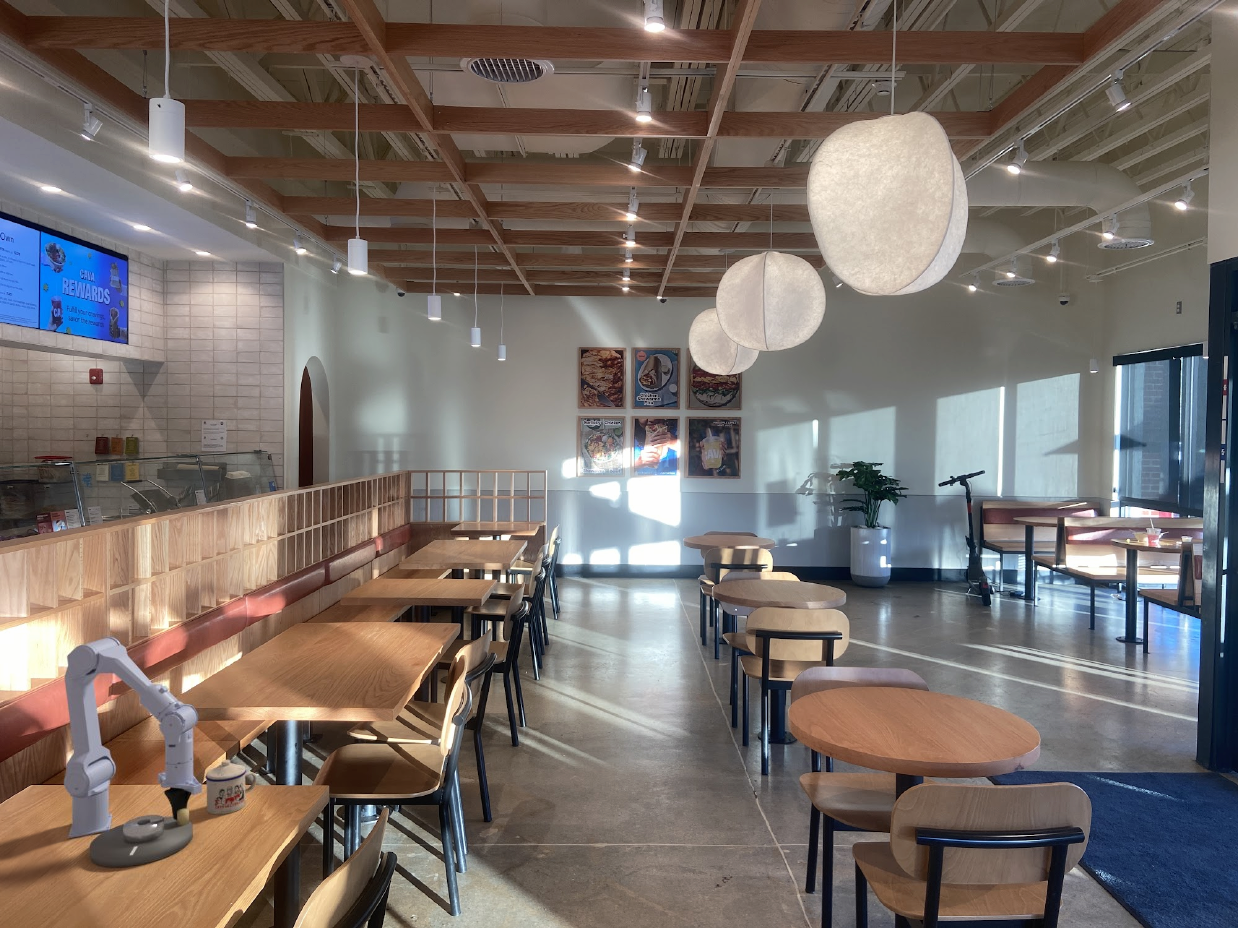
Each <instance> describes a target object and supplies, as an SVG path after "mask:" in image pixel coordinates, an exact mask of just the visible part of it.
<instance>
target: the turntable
mask: <svg viewBox="0 0 1238 928" xmlns="http://www.w3.org/2000/svg"><path fill="white" fill-rule="evenodd" d="M163 817H164V834H163V835H162V836H161V837H159V838H157V839H155V840H153V841H150V842H146V843H141V844H127V843H125V842H124V841H123V825H124V824H125V823H122V824H120V825H117V826H115V827H112V828H110V830H108V831H105V832H101V833H100V834H99V835H98V836H96V837H95V838H94V839H93V840H92V841H91V842H90V844H89V859H90V861H91V862H92V863H93V864H95V865H97V866H100V867H106V868H107V867H108V868H109V867H110V868H111V867H112V868H117V867H118V868H120V867H121V868H122V867H132V866H138V865H144V864H149V863H151V862H155V861H159V860H161V859H163V858H164V859H165V858H167V857H169V856H172V855H174V854H175V853H177V852H179V851H180V850H182V849H184V848H185V847H187V846H188V845H189V843H191V841H192V840H193V837H194V827H193V826H194V825H193V823H192V822H191V821H190V809H189V808H187V809H180V810H178V811H177V820H174V818H173V816H163Z"/></svg>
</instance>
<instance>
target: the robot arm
mask: <svg viewBox="0 0 1238 928" xmlns="http://www.w3.org/2000/svg"><path fill="white" fill-rule="evenodd" d="M66 659H67V667H66V670H65V673H64V674H65V675H64V683H65V684H64V685H65V692H66V693H65V694H66V701H67V710H68V716H69V725H70V731H71V733H70V734H71V739H72V747H73V753H72V755H71V756H70V758H69V760H68V761H67V763H66V765H65V768H66V769H65V770H66V771H65V776H64V779H63V785H64V788H65V790H66V792H67V793H68V794H69V796H70V797H71V806H72V807H71V813H72V815H71V817H72V820H71V821H72V823H71V826H70V830H69V834H68V838H69V839H71V838H77V837H83V836H89V835H94V834H98V833H100V834H101V833H104V832H105V831H108V830H110V829H111V825H112V819H113V818H112V817H113V814H112V813H110V812H109V811H110V810H109V808H110V807H109V805H110V804H109V803H110V802H109V800H110V799H109V794H110V793H109V786H110V785H111V779H113V777H114V776H115V774H116V769H117V767H116V764H115V761H114V760H113V759H112V756H111V750H110V749H108V748H107V747H105V746H103V745H102V739H101V731H100V730H101V729H100V723H99V716H98V715H99V714H98V707H97V699H96V698H97V697H96V692H95V683H94V680H95V679H96V678H97V676H98V675H100V674H114V675H115V676H116V677H117V678H119V679H120V680H121V681H122V682H124V683H125V684H126V685H127V686H128V687H130V688H131V689H132V690H133V691H134V692H135V693H137V694H138V695H139V704H140V705H141V706H143V708H144V709H146V711H148V712H149V713H150V714H151V715H152V716H153V717H154V718H155V719H156V721H158V722H159V723H160V724H158V727H159V731H160V733H161V734H162V736H163V742H164V744H165V746H164V747H165V751H164V752H165V757H164V758H165V760H164V761H165V767H164V768H165V771H164V772H160V773H157V782H158V784H159V783H160V788H163V789H166V790H164V792H163V793H164V795H165V796H166V798H167V800H168V801H169V804H170V807H171V811H172V812H171V813H172V817H173V818H174V820H177V811H178V810H180V809H188V803H189V800H190V798H191V796H195V795H198V794H200V793H203V785H202V783H201V782H200V781H198V780H197V778H196V776H195V775H194V727H195V726H196V725H197V723H198V721H199V713H198V712H197V709H196V708H195V707H194V706H193V705H192V704H188V703H186V704H185V703H183V701H181V700H180V701H179V700H178V699H177V698H176V697H175V696H174V695H173V694H172V693H171V692H170V691H169V688H168V687H167V686H166V685H163V684H161V683H153V682H152V681H151V680H150V679H149V678H148V676H146V675H145V674H144V672H143V671H142V670H141V669H140V667H138V666H137V664H136V663H135V662H134V661H133V659H132V658H131V657H130V656H129V655H128V652H127V648H126V647H125V646H124V645H123V644H121V642H120V641H119V640H118V639H117V638H115V637H113V636H106V637H102V638H101V639H98V640H94V641H91V642H88V643H86V644H79V645H77V646H76V647H74V648H73V650H71V651H70V652H69V653H68V654H67V655H66ZM168 788H169V789H168ZM109 813H110V814H109Z"/></svg>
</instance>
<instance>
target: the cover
mask: <svg viewBox="0 0 1238 928" xmlns="http://www.w3.org/2000/svg"><path fill="white" fill-rule="evenodd" d="M164 817H165V816H163V815H161V814H147V815H142V816H141V815H140V816H138V817H134V818H131V819H130V820H128V821H126V822H125V823H123V824H124V825H123V841H124V842H125V843H127V844H141V843H146V842H150V841H153V840H155V839H157V838H159V837H161V836H162V835H163V834H164Z"/></svg>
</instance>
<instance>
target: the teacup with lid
mask: <svg viewBox="0 0 1238 928" xmlns="http://www.w3.org/2000/svg"><path fill="white" fill-rule="evenodd" d="M249 776H252V778H253V780H252V783H251V784H250V786H249V787H248V788H246V777H249ZM205 780H206V811H207V812H208V813H209V814H211V815H227V814H232V813H235V812H237V811H240V810H241V809H242V808H243V809H244V807H245V805H246V794H247V793H250V792H252V791H253V790H254V789H255V787H256V786H257V782H258V776H257V774H256V773H254V772H252V771H247V769H246V767H245V766H244V765H242V764H235V763H232V762H231V760H230V759H224V760H222V761H221V764H219V765H217V766H216V767H213V768H211V769H210V770H208V771H207V772H206V775H205Z"/></svg>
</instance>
